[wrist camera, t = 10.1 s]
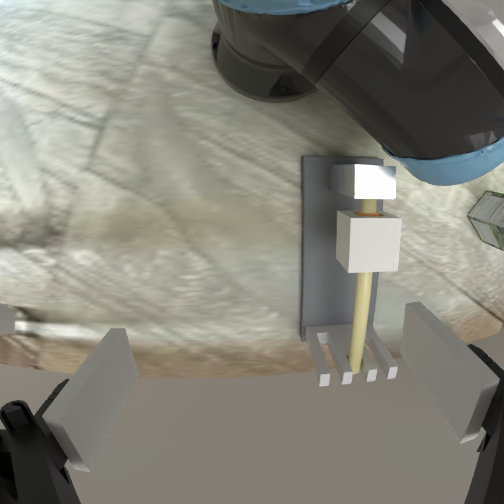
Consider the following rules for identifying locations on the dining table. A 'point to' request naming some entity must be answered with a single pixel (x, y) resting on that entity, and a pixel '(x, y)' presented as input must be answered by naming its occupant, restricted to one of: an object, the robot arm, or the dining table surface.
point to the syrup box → (489, 219)
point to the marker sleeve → (368, 241)
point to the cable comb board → (333, 273)
